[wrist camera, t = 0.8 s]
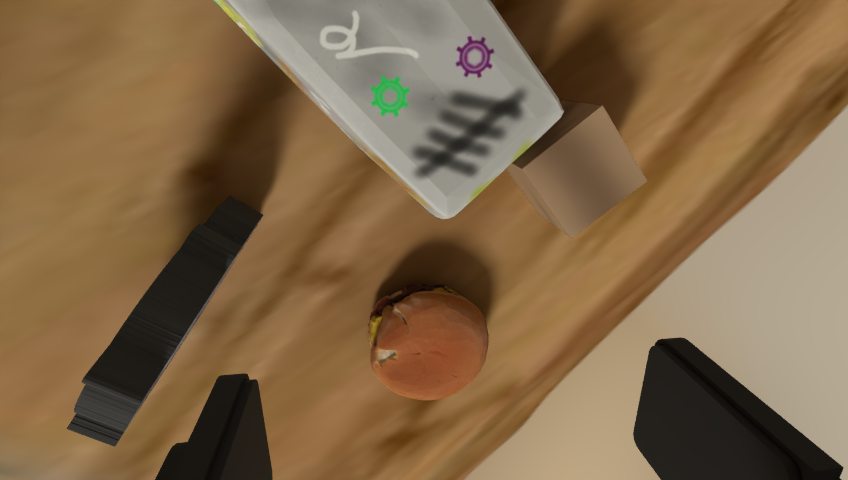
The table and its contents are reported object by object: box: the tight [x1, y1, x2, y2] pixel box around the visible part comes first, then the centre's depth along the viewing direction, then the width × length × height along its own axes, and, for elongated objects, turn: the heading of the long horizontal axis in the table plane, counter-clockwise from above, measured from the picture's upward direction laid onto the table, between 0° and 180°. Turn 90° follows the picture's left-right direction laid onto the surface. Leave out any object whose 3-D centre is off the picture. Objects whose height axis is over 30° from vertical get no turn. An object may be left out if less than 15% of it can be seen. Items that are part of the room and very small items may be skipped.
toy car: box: [214, 0, 564, 219], centre depth 25 cm, size 11×25×10 cm, turn 42°
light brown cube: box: [506, 100, 647, 239], centre depth 31 cm, size 6×6×6 cm
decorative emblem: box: [67, 196, 263, 446], centre depth 26 cm, size 12×2×15 cm, turn 144°
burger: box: [368, 284, 488, 400], centre depth 36 cm, size 10×9×5 cm
